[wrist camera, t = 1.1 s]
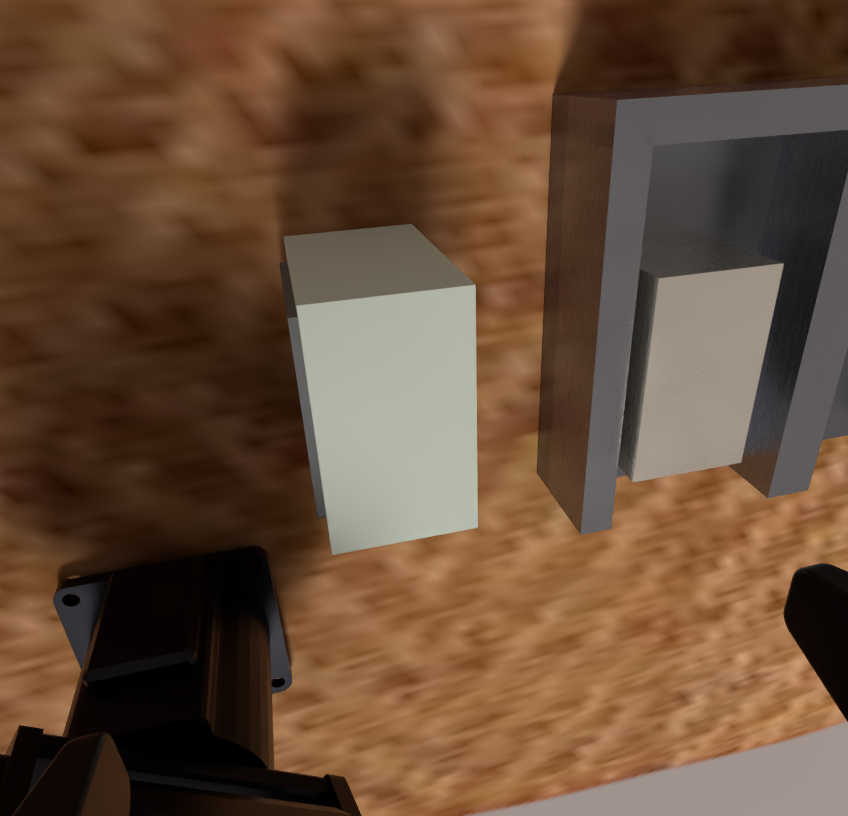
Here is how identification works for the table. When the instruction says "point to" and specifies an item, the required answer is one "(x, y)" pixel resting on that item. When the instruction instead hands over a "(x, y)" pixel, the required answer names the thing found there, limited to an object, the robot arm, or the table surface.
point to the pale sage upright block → (384, 383)
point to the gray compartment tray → (694, 287)
